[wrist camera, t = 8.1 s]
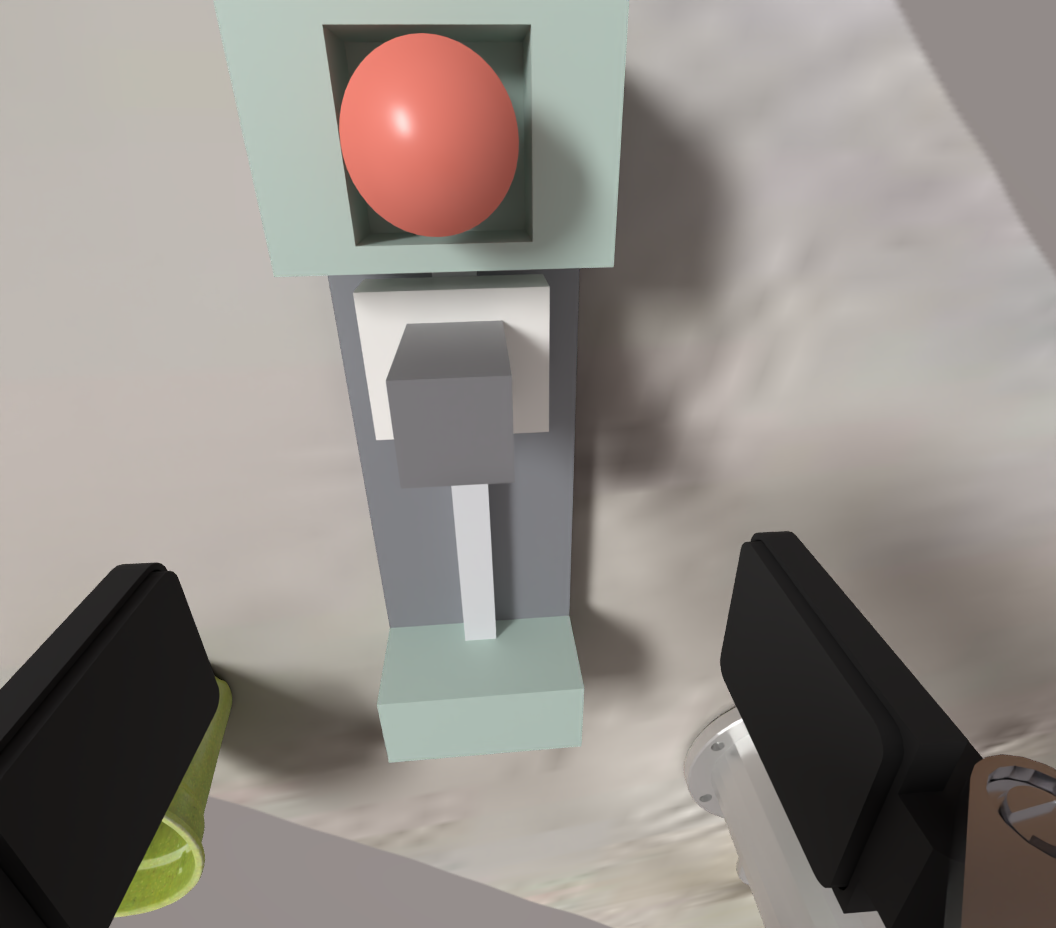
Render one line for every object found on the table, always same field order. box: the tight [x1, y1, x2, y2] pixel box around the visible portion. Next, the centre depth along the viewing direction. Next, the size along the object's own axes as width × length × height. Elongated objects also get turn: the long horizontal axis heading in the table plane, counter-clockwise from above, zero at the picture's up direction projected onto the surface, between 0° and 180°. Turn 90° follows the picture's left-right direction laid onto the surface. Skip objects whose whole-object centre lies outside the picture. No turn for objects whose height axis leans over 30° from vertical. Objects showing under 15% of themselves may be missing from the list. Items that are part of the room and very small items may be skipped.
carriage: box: [353, 274, 550, 489], centre depth 17 cm, size 5×6×7 cm
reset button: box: [339, 33, 519, 237], centre depth 13 cm, size 4×4×3 cm
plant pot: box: [114, 677, 232, 917], centre depth 28 cm, size 9×9×9 cm
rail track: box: [213, 0, 629, 763], centre depth 22 cm, size 28×9×7 cm, turn 1°
